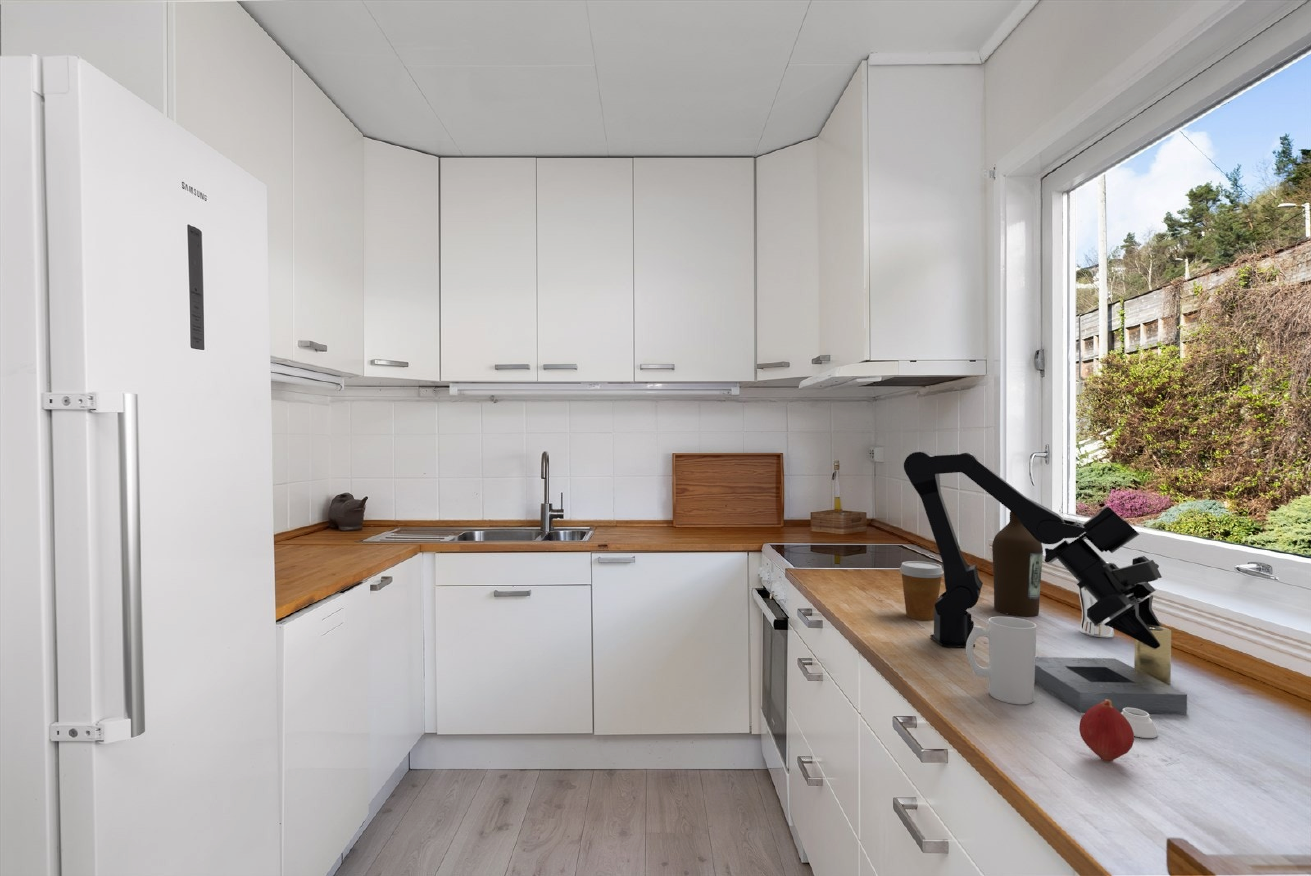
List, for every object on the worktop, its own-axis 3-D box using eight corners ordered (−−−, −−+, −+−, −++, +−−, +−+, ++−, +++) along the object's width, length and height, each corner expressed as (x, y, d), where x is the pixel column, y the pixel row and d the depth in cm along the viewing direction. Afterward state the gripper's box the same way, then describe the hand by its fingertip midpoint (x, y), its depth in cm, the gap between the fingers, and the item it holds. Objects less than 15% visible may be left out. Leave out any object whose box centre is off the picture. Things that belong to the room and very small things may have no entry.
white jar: (1158, 731, 94) (1115, 721, 97) (1158, 711, 94) (1116, 701, 97) (1156, 744, 90) (1112, 733, 93) (1157, 722, 90) (1112, 712, 93)
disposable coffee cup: (889, 613, 154) (890, 562, 154) (919, 609, 158) (920, 559, 158) (921, 624, 145) (922, 570, 145) (952, 619, 149) (953, 567, 149)
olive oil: (984, 610, 157) (986, 506, 157) (1000, 603, 165) (1001, 503, 165) (1033, 620, 150) (1035, 510, 150) (1047, 611, 157) (1049, 507, 157)
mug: (1030, 692, 107) (1031, 618, 107) (1040, 708, 101) (1041, 630, 101) (962, 684, 111) (963, 612, 110) (968, 699, 104) (969, 623, 104)
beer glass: (1123, 639, 136) (1124, 567, 136) (1085, 637, 137) (1086, 565, 137) (1107, 630, 143) (1108, 561, 143) (1071, 627, 144) (1072, 559, 144)
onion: (1068, 750, 87) (1069, 690, 87) (1109, 749, 88) (1109, 689, 88) (1101, 773, 82) (1102, 708, 82) (1144, 771, 82) (1145, 707, 82)
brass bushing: (1147, 685, 111) (1148, 631, 111) (1127, 674, 116) (1127, 623, 116) (1178, 686, 111) (1178, 632, 111) (1155, 675, 116) (1156, 623, 116)
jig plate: (1079, 712, 100) (1079, 692, 100) (1022, 673, 116) (1022, 656, 116) (1186, 714, 99) (1187, 694, 99) (1114, 675, 115) (1114, 658, 115)
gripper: (1109, 547, 110) (1192, 628, 102) (1142, 537, 122) (1218, 609, 114) (1056, 585, 116) (1130, 665, 108) (1092, 572, 128) (1161, 643, 120)
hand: (1162, 644), depth 112 cm, fingers open, 5 cm apart
